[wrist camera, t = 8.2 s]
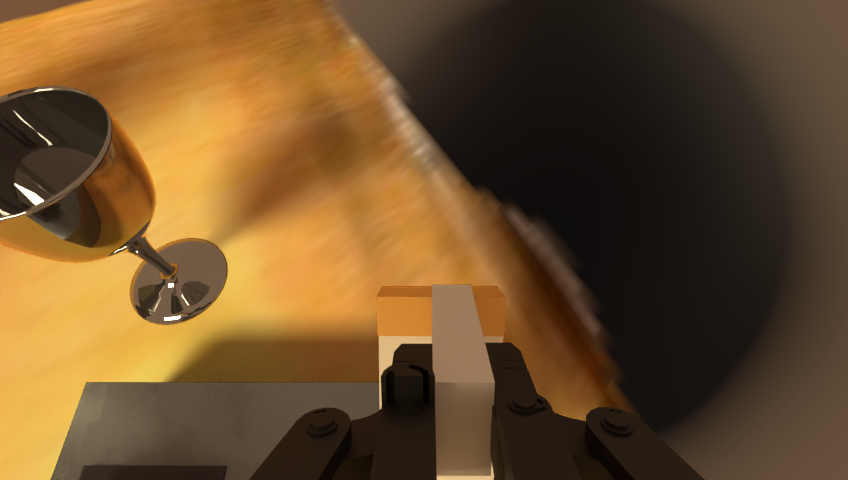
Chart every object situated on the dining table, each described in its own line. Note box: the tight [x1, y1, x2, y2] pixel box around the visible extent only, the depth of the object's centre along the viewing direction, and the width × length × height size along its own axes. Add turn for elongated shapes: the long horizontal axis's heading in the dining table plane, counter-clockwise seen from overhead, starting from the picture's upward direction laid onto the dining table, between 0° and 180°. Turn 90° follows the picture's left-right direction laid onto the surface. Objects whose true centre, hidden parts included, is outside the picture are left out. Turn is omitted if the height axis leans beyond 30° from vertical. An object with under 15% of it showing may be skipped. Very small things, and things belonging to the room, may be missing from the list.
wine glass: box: [0, 86, 227, 325], centre depth 27 cm, size 8×8×15 cm
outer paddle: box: [377, 286, 505, 480], centre depth 19 cm, size 2×5×11 cm
